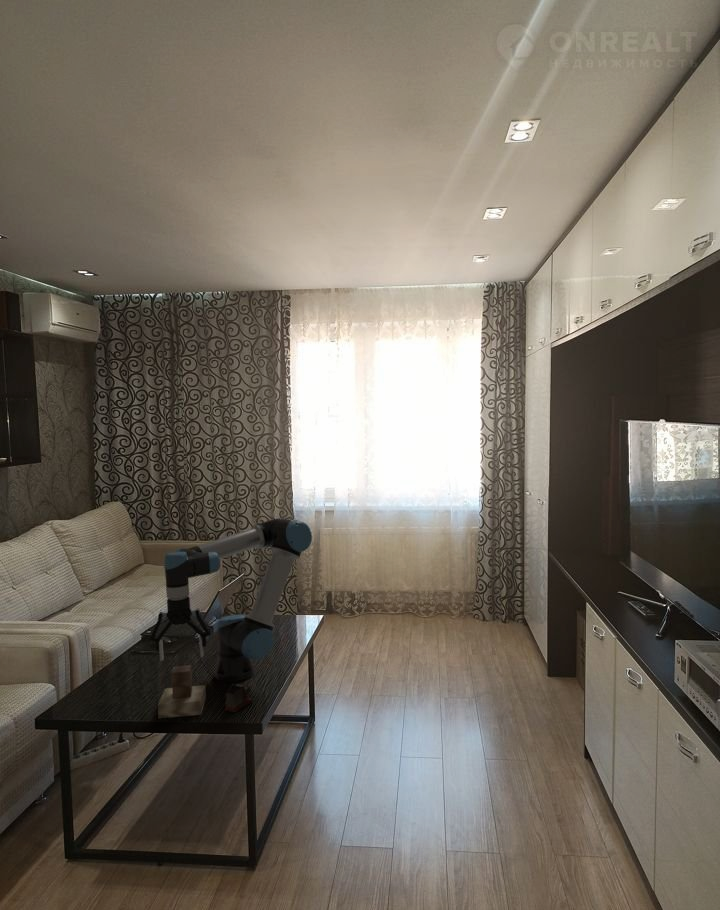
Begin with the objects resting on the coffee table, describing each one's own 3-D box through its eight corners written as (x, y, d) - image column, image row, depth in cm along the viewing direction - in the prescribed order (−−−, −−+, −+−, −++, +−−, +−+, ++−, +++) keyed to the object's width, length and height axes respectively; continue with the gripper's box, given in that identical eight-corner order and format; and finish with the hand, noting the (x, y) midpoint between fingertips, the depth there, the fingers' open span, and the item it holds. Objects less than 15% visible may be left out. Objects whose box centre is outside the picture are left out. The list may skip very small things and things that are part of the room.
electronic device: (253, 702, 224) (252, 681, 224) (235, 713, 216) (233, 691, 216) (244, 700, 227) (243, 679, 226) (225, 711, 219) (224, 689, 218)
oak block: (206, 698, 230) (205, 685, 230) (201, 715, 216) (200, 701, 216) (165, 702, 228) (165, 688, 228) (158, 719, 215) (157, 704, 214)
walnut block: (192, 690, 226) (191, 664, 225) (191, 696, 220) (189, 671, 219) (174, 692, 225) (173, 666, 224) (172, 699, 219) (171, 672, 218)
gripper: (216, 591, 226) (219, 650, 227) (143, 597, 223) (147, 657, 224) (214, 597, 219) (217, 658, 220) (138, 603, 216) (142, 665, 217)
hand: (182, 657), depth 222 cm, fingers open, 13 cm apart
